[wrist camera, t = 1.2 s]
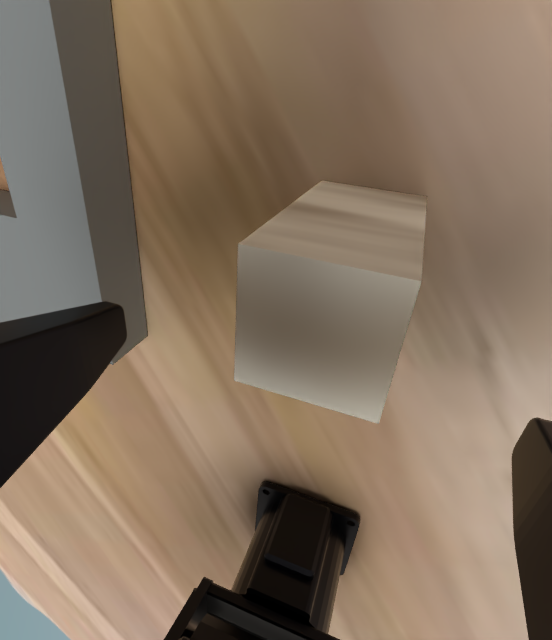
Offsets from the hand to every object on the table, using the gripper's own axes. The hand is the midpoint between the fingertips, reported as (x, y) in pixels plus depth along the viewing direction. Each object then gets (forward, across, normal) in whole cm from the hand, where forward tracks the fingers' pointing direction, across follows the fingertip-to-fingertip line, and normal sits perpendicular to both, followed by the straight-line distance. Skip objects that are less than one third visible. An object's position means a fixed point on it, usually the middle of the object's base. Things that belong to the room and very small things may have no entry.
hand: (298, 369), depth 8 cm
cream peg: (+9, 0, 0) cm, 9 cm away
